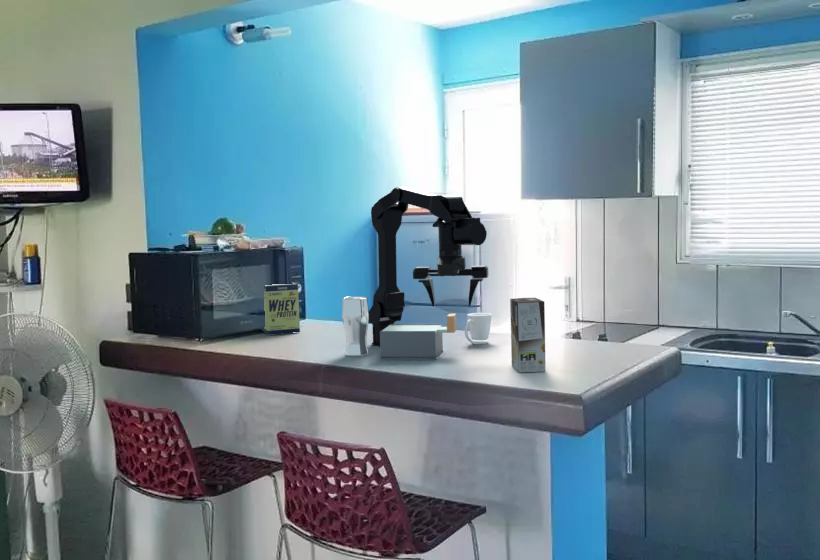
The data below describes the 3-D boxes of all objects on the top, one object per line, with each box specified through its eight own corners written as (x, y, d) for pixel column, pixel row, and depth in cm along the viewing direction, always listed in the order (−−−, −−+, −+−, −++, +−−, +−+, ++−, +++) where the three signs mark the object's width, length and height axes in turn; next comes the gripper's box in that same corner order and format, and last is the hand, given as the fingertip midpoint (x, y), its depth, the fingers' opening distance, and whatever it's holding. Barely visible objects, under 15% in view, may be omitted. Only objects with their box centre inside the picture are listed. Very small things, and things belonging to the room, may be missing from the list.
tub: (380, 359, 201) (379, 331, 201) (390, 350, 214) (390, 324, 214) (435, 359, 199) (435, 331, 198) (442, 350, 212) (442, 323, 211)
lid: (380, 334, 202) (380, 318, 201) (389, 328, 213) (388, 312, 212) (452, 334, 199) (452, 317, 198) (457, 327, 210) (457, 312, 209)
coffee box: (546, 371, 180) (545, 301, 179) (518, 373, 180) (517, 302, 179) (536, 364, 189) (535, 296, 188) (510, 365, 189) (508, 298, 188)
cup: (497, 342, 223) (497, 313, 222) (476, 347, 216) (476, 317, 215) (477, 340, 228) (476, 311, 227) (455, 345, 220) (455, 316, 219)
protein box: (267, 335, 249) (265, 285, 247) (258, 329, 263) (256, 282, 262) (300, 333, 252) (298, 283, 251) (289, 327, 267) (287, 280, 266)
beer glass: (374, 352, 212) (372, 296, 211) (364, 357, 206) (362, 299, 205) (349, 351, 215) (347, 296, 213) (339, 356, 208) (337, 299, 207)
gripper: (408, 247, 196) (410, 310, 198) (484, 245, 193) (486, 309, 194) (415, 245, 207) (417, 305, 208) (487, 243, 204) (489, 304, 205)
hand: (451, 306), depth 204 cm, fingers open, 9 cm apart
